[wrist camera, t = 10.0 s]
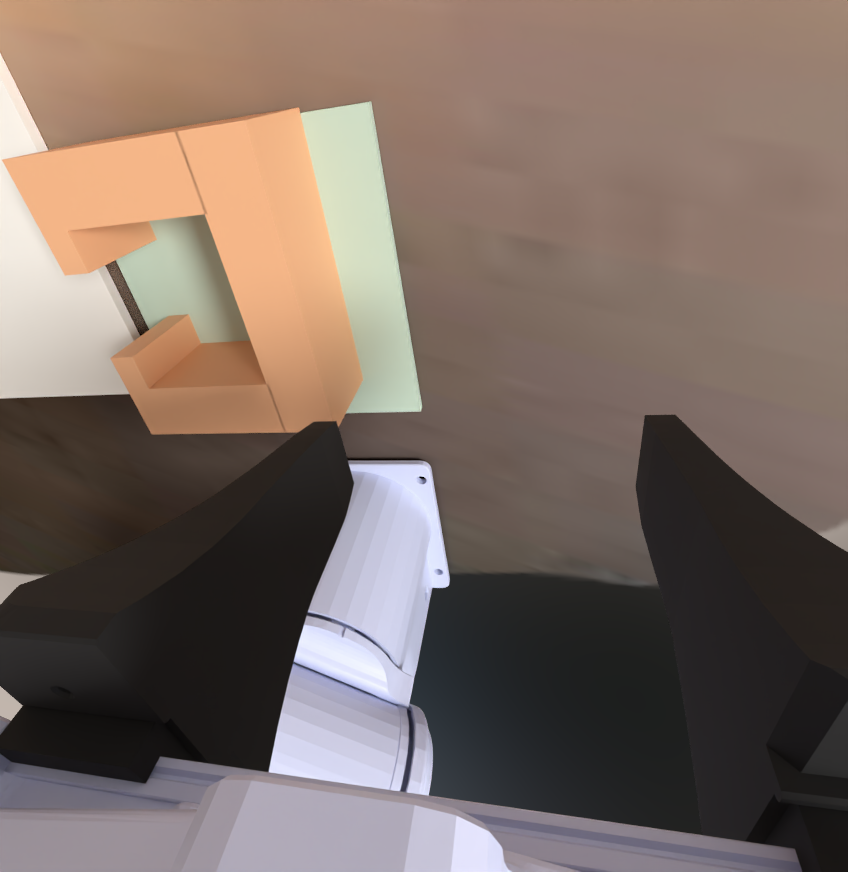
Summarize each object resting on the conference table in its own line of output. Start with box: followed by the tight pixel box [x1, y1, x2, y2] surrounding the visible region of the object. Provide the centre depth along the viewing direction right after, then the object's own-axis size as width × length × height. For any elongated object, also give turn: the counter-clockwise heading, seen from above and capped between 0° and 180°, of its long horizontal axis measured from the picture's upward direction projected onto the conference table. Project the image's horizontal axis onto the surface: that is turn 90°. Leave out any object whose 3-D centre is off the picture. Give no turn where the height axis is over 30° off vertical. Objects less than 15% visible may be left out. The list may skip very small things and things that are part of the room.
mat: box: [116, 101, 422, 413], centre depth 22 cm, size 12×12×1 cm
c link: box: [2, 107, 363, 434], centre depth 19 cm, size 8×10×4 cm
